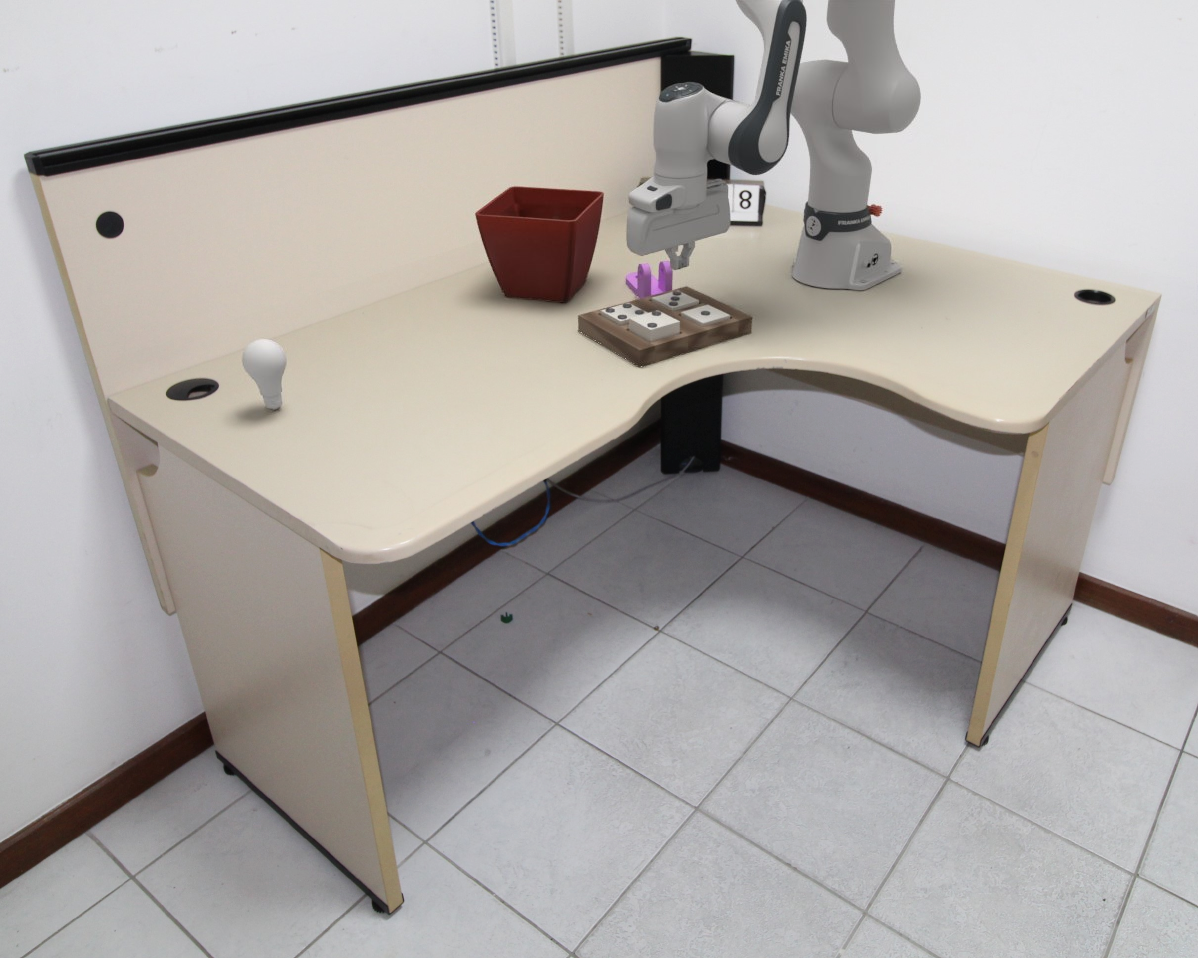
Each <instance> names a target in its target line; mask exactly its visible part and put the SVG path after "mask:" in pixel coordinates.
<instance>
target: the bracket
mask: <svg viewBox="0 0 1198 958" xmlns="http://www.w3.org/2000/svg"><path fill="white" fill-rule="evenodd" d="M673 280H674V279H673V269H671V267H670V260H662V261H660V262H659V264H658V278H657V277H656V276H655V275H654V274H652V270H651V266H650V263H646V262H645V263H639V264H638V266H637V271H635V272H630V273H627V274H626V275H625V285H626V286H627V287H628V288H629V289H630V290H631V291H632V292H633V293H634V294H635V295H636V296H638V297H639V298H640V299H641V298H644V297H648V296H652V295H656V294H659V293H663V292H667V291H671V290H673ZM638 297H637V298H638ZM639 298H638V299H639Z"/></svg>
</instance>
